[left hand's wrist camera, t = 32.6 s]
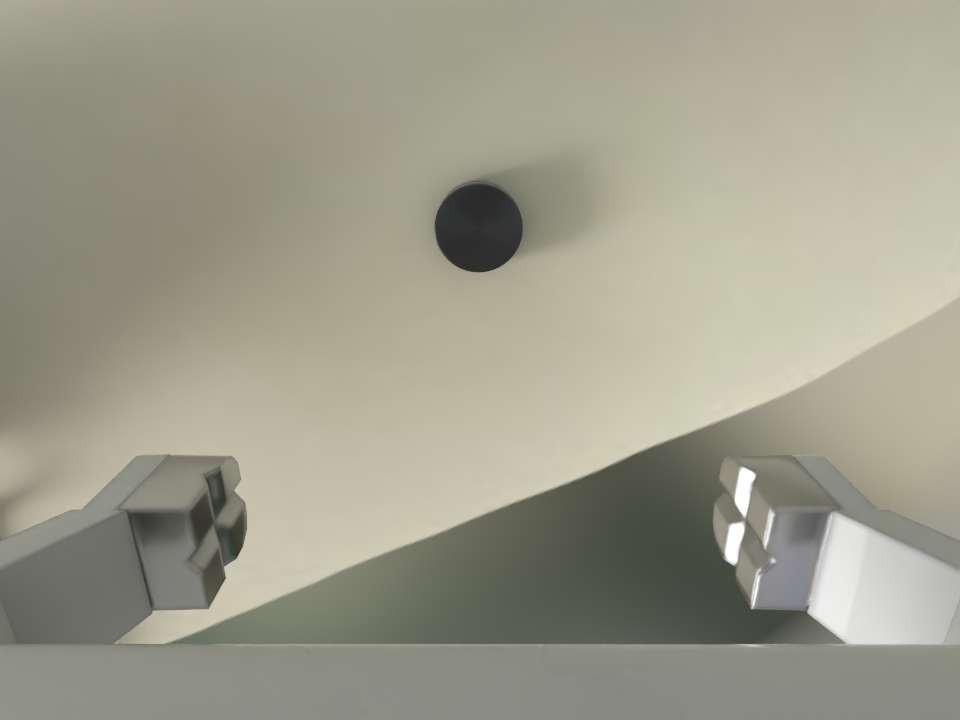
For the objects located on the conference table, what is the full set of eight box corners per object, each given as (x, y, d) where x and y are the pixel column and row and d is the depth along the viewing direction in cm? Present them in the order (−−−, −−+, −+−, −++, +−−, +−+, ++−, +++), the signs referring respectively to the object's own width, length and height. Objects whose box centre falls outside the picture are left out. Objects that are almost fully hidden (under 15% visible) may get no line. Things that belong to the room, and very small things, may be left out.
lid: (519, 266, 37) (520, 273, 35) (437, 264, 37) (435, 271, 35) (522, 181, 35) (524, 184, 33) (436, 180, 35) (434, 182, 33)
